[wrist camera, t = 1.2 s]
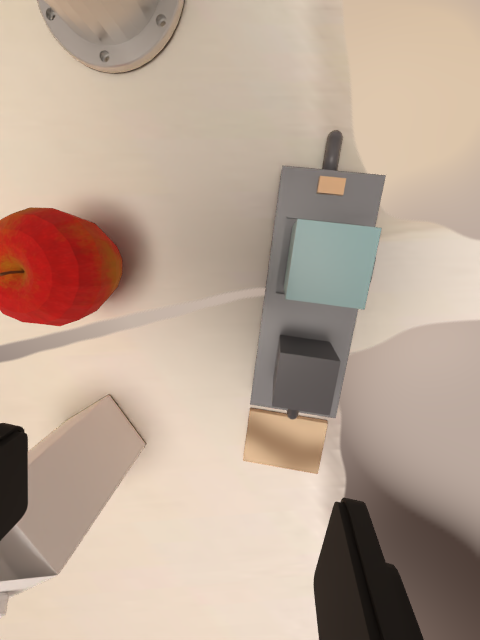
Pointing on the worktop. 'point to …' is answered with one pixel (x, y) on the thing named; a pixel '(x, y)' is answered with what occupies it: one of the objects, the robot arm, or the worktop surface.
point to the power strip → (305, 317)
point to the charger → (330, 263)
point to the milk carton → (66, 493)
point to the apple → (54, 266)
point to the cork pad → (284, 440)
